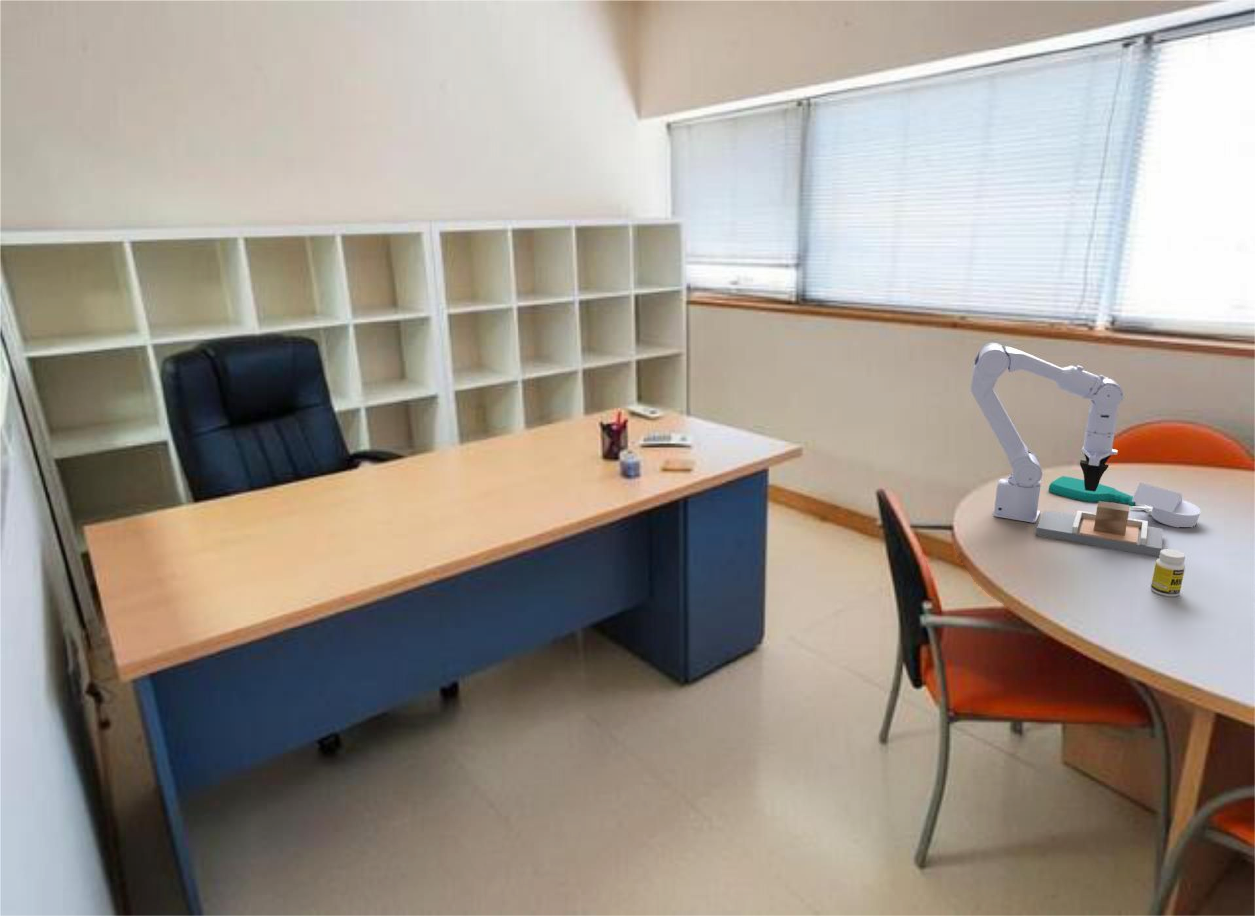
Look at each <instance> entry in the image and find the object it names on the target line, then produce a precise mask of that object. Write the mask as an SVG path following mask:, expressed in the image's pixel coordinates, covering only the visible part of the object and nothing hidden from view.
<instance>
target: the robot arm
mask: <svg viewBox="0 0 1255 916" xmlns="http://www.w3.org/2000/svg"><path fill="white" fill-rule="evenodd" d="M1076 365H1077V366H1074V365H1068V366H1065V367H1060V366H1058V365H1056V364H1054V363H1051V362H1048V361H1046V360H1044V359H1041V358H1039V357H1036V356H1034V355H1032V354H1030V353H1027V352H1024V351H1023V350H1019V349H1017V348H1015V347H1011V346H1005V347H1004V346H1003V345H1001V344H1000V343H996V342H991V343H989V342H988V343H987V344H985V345H983V346H982V347H981V348H980V349H979V351H978V353H977V355H976V357H975V359H974V362H973V369H972V375H971V381H970V392H971V394H972V396H973V397H974V399H975V401H976V403H977V405H978V406H979V408H980V410H981V411H982V413H983V415H984V417H985V419H986V421H987V422H988V424H989V426H990V428H991V429H992V431H993V433H994V435H995V437H996V439H997V440H998V442H999V444H1000V447H1002V449H1003V451H1004V453H1005V454H1006V456H1007V459H1008V461H1009V464H1010V467H1011V469H1012V473H1010V475H1009V476H1008V478H999V480H998V484H997V486H996V494H995V501H994V512H993V516H994V517H996V518H1001V519H1008V520H1015V521H1022V522H1027V523H1033V524H1036V523H1037V521H1038V519H1039V517H1040V514H1041V511H1040V510H1038V508H1039V499H1040V492H1041V485H1042V481H1041V480H1042V478H1043V470H1042V468H1041V465H1040V460H1039V458H1038V455H1036V454H1035V452H1033V451H1030V450H1029V448H1028V447H1027V444H1025V442H1024V441H1023V440H1022V439H1023V438H1022V437H1021V436H1020V434H1019V431H1018V430H1017V428H1016V427H1015V424H1014V423H1013V422H1012V419H1011V417H1010V416H1009V414H1008V412H1007V410H1006V408H1005V407H1004V405H1003V404H1002V402H1001V400H1000V398H999V396H998V395H997V393H996V391H995V389H994V388H995V386H996V383H997V381H998V379H999V378H1000V377H1001V376H1003V374H1004V372H1006V370H1007V369H1008V372H1009V373H1013V372H1016V371H1020V370H1024V371H1026V372H1028V373H1029V372H1030V373H1032V374H1035V375H1037V376H1040V377H1043V378H1046V379H1049V380H1052V381H1055V383H1056V386H1057V388H1058V389H1060V390H1062V391H1065V392H1068V393H1069V394H1072V395H1075V396H1078V397H1081V398H1083V399H1086V400H1087V399H1088V400H1090V404H1089V410H1088V413H1087V415H1088V416H1087V420H1086V421H1087V422H1086V426H1085V427H1086V428H1085V433H1084V438H1083V439H1084V442H1083V446H1082V447H1081V451H1082V453H1083V455H1084V457H1085V459H1080V463H1079V465H1080V468H1081V470H1082V473H1083V480H1084V486H1085V490H1087V491H1094V492H1095V491H1096V489H1097V487H1098V484H1100V482H1101V479H1102V477H1103V474H1104V473H1105V472H1107V470H1108V468H1109V467H1110V466H1109V464H1107V462H1108V460H1109V459H1110V458H1111V457H1112V455H1115V456H1116V455H1118V452H1119V451H1118V450H1117V449H1115V448H1114V449H1113V445H1114V439H1115V432H1116V427H1117V420H1118V415H1119V413H1118V410H1119V405H1120V404H1121V403H1122V402H1123V400H1124V397H1125V396H1124V393H1123V390H1122V387H1121V386H1120V385H1119V384H1118V383H1117V382H1116V381H1115V380H1114V379H1111V377H1107V376H1105V375H1104V374H1099V375H1097V374H1094V373H1091V372H1089V371H1086V370H1085V369H1084V367H1083V366H1081V365H1079V364H1076Z"/></svg>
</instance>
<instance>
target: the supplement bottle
mask: <svg viewBox="0 0 1255 916" xmlns="http://www.w3.org/2000/svg"><path fill="white" fill-rule="evenodd" d="M1185 559H1186V555H1185V553H1183V552H1182V551H1180V550H1176V549H1171V548H1166V549H1165V548H1163V549H1162V550H1161V551H1160V555H1159V558H1157V559H1156V561H1155V563H1154V570H1153V574H1152V580H1151V583H1150V590H1151V591H1152V592H1154V593H1155V594H1158V595H1161V596H1164V597H1168V598H1169V597H1172V598H1173V597H1177V596H1179V595H1180V593H1181V589H1182V583H1183V578H1184V574H1185V570H1186V565H1185Z"/></svg>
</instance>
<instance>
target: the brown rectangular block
mask: <svg viewBox="0 0 1255 916" xmlns="http://www.w3.org/2000/svg"><path fill="white" fill-rule="evenodd" d="M1129 512H1130V505H1128V504H1122V503H1118V502H1111V501H1104V502H1103V501H1099V502H1097V507H1096V512H1095V513H1096V518H1095V525H1094V531H1097V532H1103V533H1109V534H1115V535H1121V536H1125V531H1126V526H1127V520H1128V518H1129Z"/></svg>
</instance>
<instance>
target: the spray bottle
mask: <svg viewBox="0 0 1255 916" xmlns="http://www.w3.org/2000/svg"><path fill="white" fill-rule="evenodd" d="M1048 492H1049V493H1050V494H1054V495H1058V496H1060V497H1061V496H1062V497H1064V498H1069V499H1073V500H1077V501H1080V502H1088V503H1098V502H1099V501H1103V502H1113V503H1119V502H1120V503H1119V504H1124V505H1130V507H1129V509H1134V510H1141V511H1145V512H1146V513H1147V512H1148V513H1147V515H1149V516H1152V515H1151V512H1152V509H1153V507H1150V506H1147V505H1143V504H1140V503H1136V502H1132V499H1133V497H1134V495H1133V496H1132V495H1130V494H1128V493H1125V492H1123V491H1119V490H1118V489H1116V488H1115V487H1111V486H1108V485H1104V484H1101V483H1099V484H1098V487H1097V489H1096V491H1095V492H1094V491H1087V490H1085V486H1084V479H1082V478H1081V479H1080V478H1077V477H1076V478H1075V477H1070V476H1065V475H1062V476H1060V477H1058V478H1057V479H1055V480H1053V481H1051V483H1050V484H1049V486H1048ZM1136 506H1138V507H1136Z"/></svg>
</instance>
